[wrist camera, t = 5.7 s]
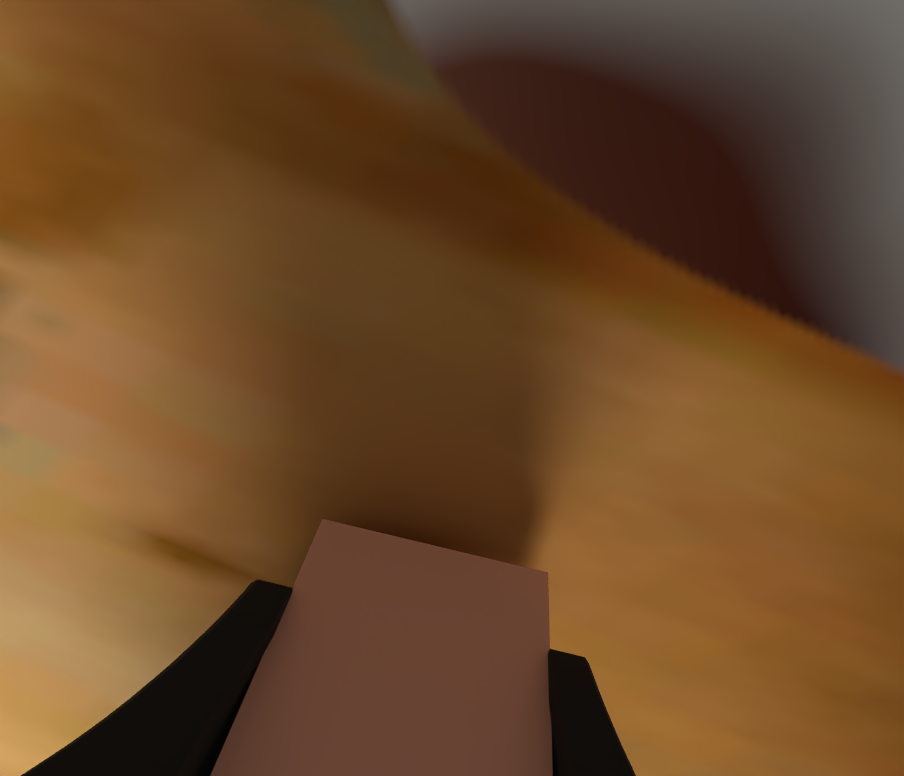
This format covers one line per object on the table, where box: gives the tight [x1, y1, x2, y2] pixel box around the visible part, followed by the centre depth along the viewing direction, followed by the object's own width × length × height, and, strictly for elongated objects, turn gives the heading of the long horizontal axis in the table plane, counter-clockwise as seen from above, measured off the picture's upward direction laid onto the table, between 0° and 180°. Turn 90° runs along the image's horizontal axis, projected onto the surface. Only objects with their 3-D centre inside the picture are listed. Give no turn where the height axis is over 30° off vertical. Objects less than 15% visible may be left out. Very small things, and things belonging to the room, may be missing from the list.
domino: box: [210, 519, 553, 776], centre depth 11 cm, size 4×2×8 cm, turn 78°
